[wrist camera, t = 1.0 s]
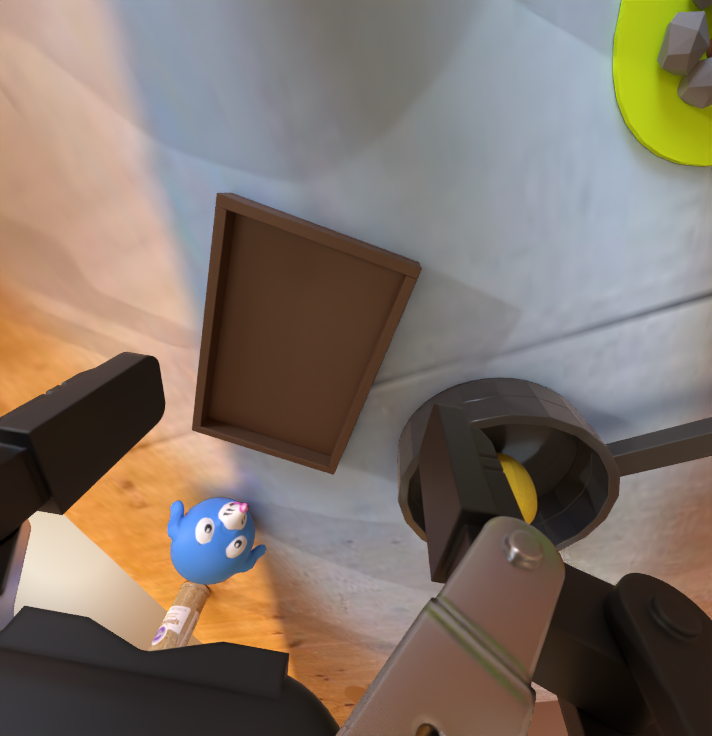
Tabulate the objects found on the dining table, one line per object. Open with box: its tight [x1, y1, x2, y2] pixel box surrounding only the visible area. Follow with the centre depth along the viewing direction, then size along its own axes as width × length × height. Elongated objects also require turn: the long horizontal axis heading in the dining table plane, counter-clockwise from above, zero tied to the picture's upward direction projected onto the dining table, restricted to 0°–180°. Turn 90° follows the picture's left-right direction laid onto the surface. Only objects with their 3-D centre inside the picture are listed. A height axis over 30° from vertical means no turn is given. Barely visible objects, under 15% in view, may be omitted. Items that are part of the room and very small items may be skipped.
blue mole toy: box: [168, 497, 266, 585], centre depth 36 cm, size 12×12×8 cm
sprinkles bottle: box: [148, 581, 210, 651], centre depth 45 cm, size 5×5×14 cm
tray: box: [192, 193, 422, 474], centre depth 29 cm, size 22×15×2 cm
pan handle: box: [606, 417, 712, 477], centre depth 25 cm, size 11×2×1 cm, turn 116°
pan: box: [397, 378, 620, 551], centre depth 31 cm, size 18×18×6 cm
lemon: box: [496, 452, 537, 524], centre depth 29 cm, size 6×6×8 cm
